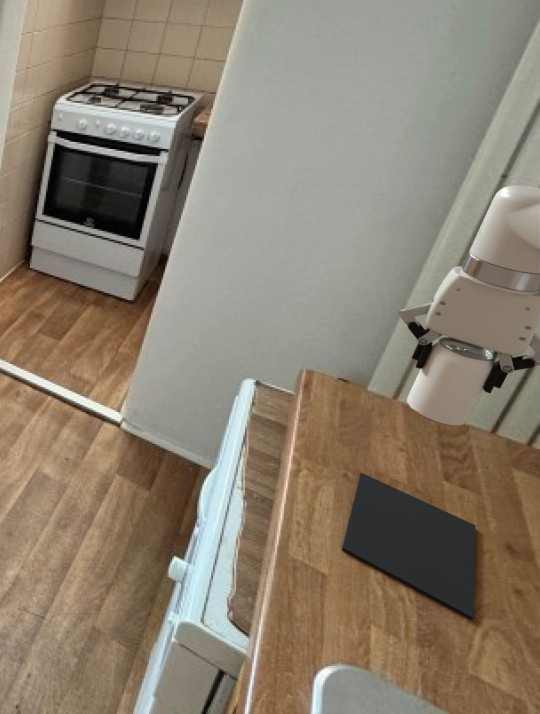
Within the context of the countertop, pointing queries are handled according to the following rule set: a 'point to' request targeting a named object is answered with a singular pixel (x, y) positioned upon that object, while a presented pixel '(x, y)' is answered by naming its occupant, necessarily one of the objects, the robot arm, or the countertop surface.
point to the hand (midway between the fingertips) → (452, 375)
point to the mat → (413, 543)
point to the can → (450, 381)
